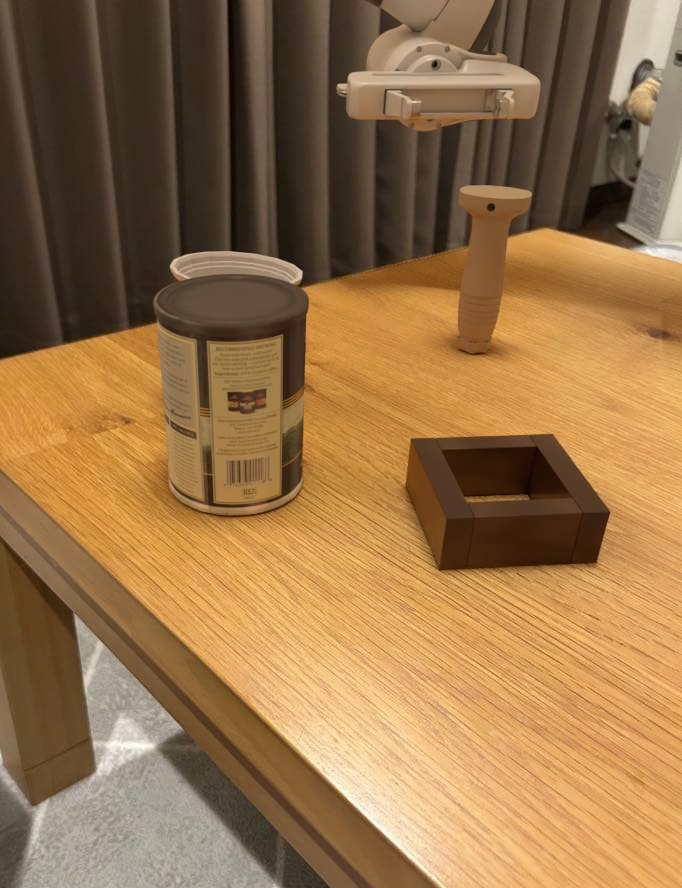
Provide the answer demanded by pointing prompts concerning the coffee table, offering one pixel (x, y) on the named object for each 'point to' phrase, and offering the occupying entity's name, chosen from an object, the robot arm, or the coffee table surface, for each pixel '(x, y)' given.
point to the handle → (485, 260)
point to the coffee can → (233, 390)
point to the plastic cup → (233, 266)
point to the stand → (504, 502)
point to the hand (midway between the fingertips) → (460, 110)
